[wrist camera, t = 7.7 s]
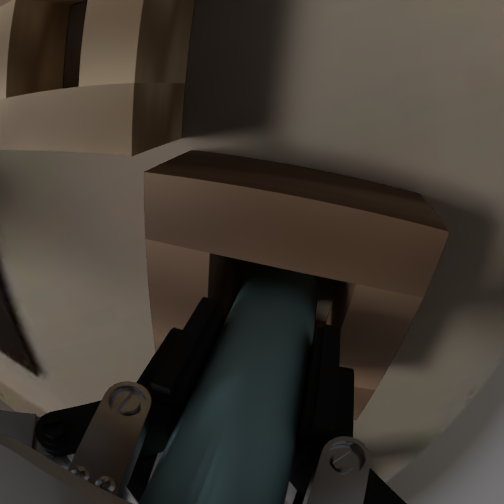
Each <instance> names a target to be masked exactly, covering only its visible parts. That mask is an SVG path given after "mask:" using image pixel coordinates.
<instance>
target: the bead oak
mask: <svg viewBox="0 0 504 504" xmlns="http://www.w3.org/2000/svg"><path fill="white" fill-rule="evenodd" d="M82 1H85V0H0V150H37V151H63V152H81V153H97V154H110V155H122V156H134V155H136V154H139V153H142V152H144V151H147V150H150V149H152V148H155V147H158V146H161V145H164V144H166V143H169V142H172V141H175V140H178V139H181V135H182V119H183V105H184V93H185V82H186V71H187V61H188V52H189V43H190V34H191V26H192V19H193V11H194V4H195V0H88V2H87V8H86V14H85V21H84V29H83V38H82V47H81V58H80V72H79V87H72V88H64V89H63V70H64V56H65V45H66V36H67V28H68V20H69V13H70V7H71V5H72V4H75V3H78V2H82Z"/></svg>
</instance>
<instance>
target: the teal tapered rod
mask: <svg viewBox="0 0 504 504" xmlns="http://www.w3.org/2000/svg"><path fill="white" fill-rule="evenodd" d="M317 297H318V285H317V281H316V279H315V276H314V275H310V274H305V273H301V272H296V271H291V270H286V269H282V268H277V267H272V266H268V265H263V264H258V263H256V264H255V265H254V266H253V267H252V268H251V269H250V270H249V272H248V274H247V276H246V278H245V280H244V283H243V285H242V287H241V289H240V291H239V293H238V295H237V297H236V300H235V302H234V304H233V306H232V308H231V310H230V312H229V314H228V317H227V319H226V321H225V323H224V325H223V328H222V330H221V332H220V334H219V336H218V338H217V340H216V342H215V344H214V347H213V349H212V351H211V353H210V355H209V357H208V359H207V361H206V364H205V366H204V368H203V370H202V372H201V374H200V376H199V378H198V380H197V383H196V385H195V387H194V389H193V391H192V393H191V395H190V397H189V399H188V401H187V404H186V406H185V408H184V410H183V412H182V414H181V416H180V418H179V420H178V422H177V424H176V426H175V428H174V430H173V432H172V435H171V437H170V439H169V441H168V443H167V445H166V447H165V449H164V451H163V453H162V455H161V458H160V460H159V462H158V464H157V466H156V468H155V470H154V472H153V474H152V476H151V478H150V480H149V483H148V485H147V487H146V489H145V491H144V493H143V495H142V497H141V499H140V501H139V503H138V504H284V503H285V499H286V494H287V490H288V485H289V480H290V475H291V470H292V465H293V460H294V455H295V450H296V438H297V432H298V427H299V421H300V415H301V409H302V403H303V397H304V391H305V384H306V378H307V371H308V364H309V357H310V349H311V345H312V341H313V333H314V324H315V316H316V307H317Z"/></svg>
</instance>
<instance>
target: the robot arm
mask: <svg viewBox="0 0 504 504" xmlns="http://www.w3.org/2000/svg"><path fill="white" fill-rule="evenodd" d="M223 320H224V306H221V305H220V302H219V300H214V299H210V298H206V297H203V298H202V299H201V300H200V302H199V304H198V305H197V307H196V309H195V310H194V312H193V314H192V315H191V317H190V318H189V320H188V322H187V323H186V325H185V327H184V328H183V330H182V329H178V328H175V327H174V328H172V329H171V330H170V331H169V333H168V334H167V336H166V337H165V339H164V341H163V342H162V344H161V345H160V347H159V348H158V350H157V351H156V353H155V355H154V356H153V358H152V359H151V361H150V362H149V364H148V365H147V367H146V369H145V370H144V372H143V373H142V375H141V376H140V378H139V380H138V381H137V383H135V382H129V381H127V382H120V383H117V384H114V385H113V386H112V387H110V388H109V389H108V390H107V392H106V393H105V395H104V397H103V399H102V400H101V401H97V402H93V403H89V404H85V405H80V406H76V407H72V408H67V409H62V410H58V411H53V412H49V413H47V414H45V415H43V416H42V417H38V416H37V415H36V414H30V413H20V412H11V411H3V410H0V504H138V503H139V501H140V499H141V497H142V495H143V493H144V491H145V489H146V487H147V485H148V483H149V480H150V478H151V476H152V474H153V472H154V470H155V468H156V466H157V464H158V462H159V460H160V458H161V455H162V452H163V451H164V449H165V447H166V445H167V443H168V441H169V439H170V437H171V435H172V432H173V430H174V428H175V426H176V424H177V422H178V420H179V418H180V416H181V414H182V412H183V410H184V408H185V406H186V404H187V401H188V399H189V397H190V395H191V393H192V391H193V389H194V387H195V385H196V383H197V380H198V378H199V376H200V374H201V372H202V370H203V368H204V366H205V364H206V361H207V359H208V357H209V355H210V353H211V351H212V349H213V347H214V344H215V342H216V340H217V338H218V336H219V334H220V332H221V330H222V328H223ZM340 333H341V329H340V327H337V326H332V325H327V324H324V326H323V328H320V327H317V329H316V332H315V335H314V338H313V342H312V345H311V349H310V357H309V364H308V371H307V378H306V384H305V391H304V397H303V403H302V409H301V415H300V421H299V427H298V432H297V438H296V450H295V455H294V460H293V465H292V470H291V475H290V480H289V481H290V483H291V484H292V485H293V486H294V488H295V492H294V494H293V497H292V500H291V503H290V504H406V503H405V502H404V501H403V500H402V499H401V498H400V497H399V496H398V495H397V494H396V493H395V492H394V491H393V490H391V488H390V487H388V485H386V483H385V482H384V481H383V480H382V479H381V478H380V477H379V476H378V475H377V474H376V473H375V472H374V471H373V470H372V469H371V468H370V463H371V456H370V453H369V450H368V448H367V447H366V446H365V445H364V443H362V442H361V441H359V440H358V439H355V438H353V419H354V369H352V368H347V367H341V366H339V364H340Z"/></svg>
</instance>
